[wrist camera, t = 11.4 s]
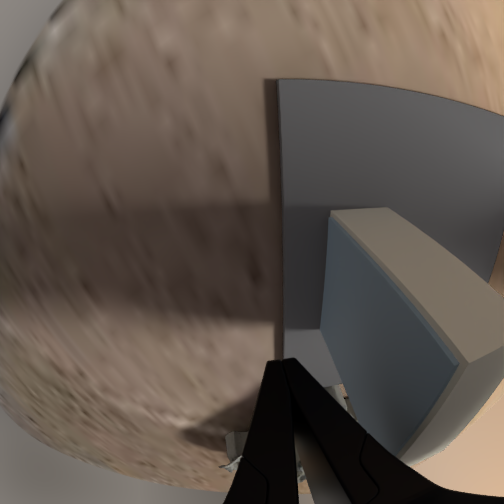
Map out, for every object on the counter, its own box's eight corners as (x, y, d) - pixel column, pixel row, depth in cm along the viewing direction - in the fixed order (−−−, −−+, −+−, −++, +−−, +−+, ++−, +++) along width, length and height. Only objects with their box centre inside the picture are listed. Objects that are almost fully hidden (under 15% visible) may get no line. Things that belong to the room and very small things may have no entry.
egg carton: (272, 455, 22) (279, 493, 18) (206, 435, 19) (208, 481, 15) (375, 399, 19) (393, 440, 15) (323, 366, 16) (344, 422, 12)
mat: (512, 120, 10) (517, 121, 10) (459, 342, 17) (462, 345, 17) (276, 80, 9) (278, 79, 9) (282, 389, 16) (283, 395, 16)
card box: (387, 207, 11) (533, 327, 4) (368, 320, 14) (443, 450, 7) (327, 210, 11) (463, 365, 4) (318, 329, 14) (378, 478, 7)
